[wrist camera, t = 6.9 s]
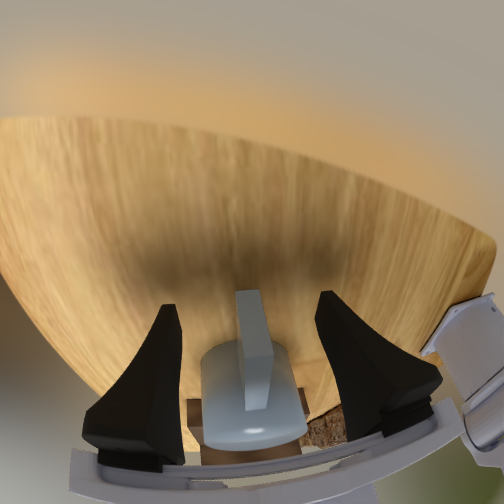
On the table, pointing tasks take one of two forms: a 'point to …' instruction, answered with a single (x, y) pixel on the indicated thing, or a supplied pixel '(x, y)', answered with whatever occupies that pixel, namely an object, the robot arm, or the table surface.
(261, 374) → the finned dome knob
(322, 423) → the rock
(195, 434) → the caddy
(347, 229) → the table surface
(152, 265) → the table surface
